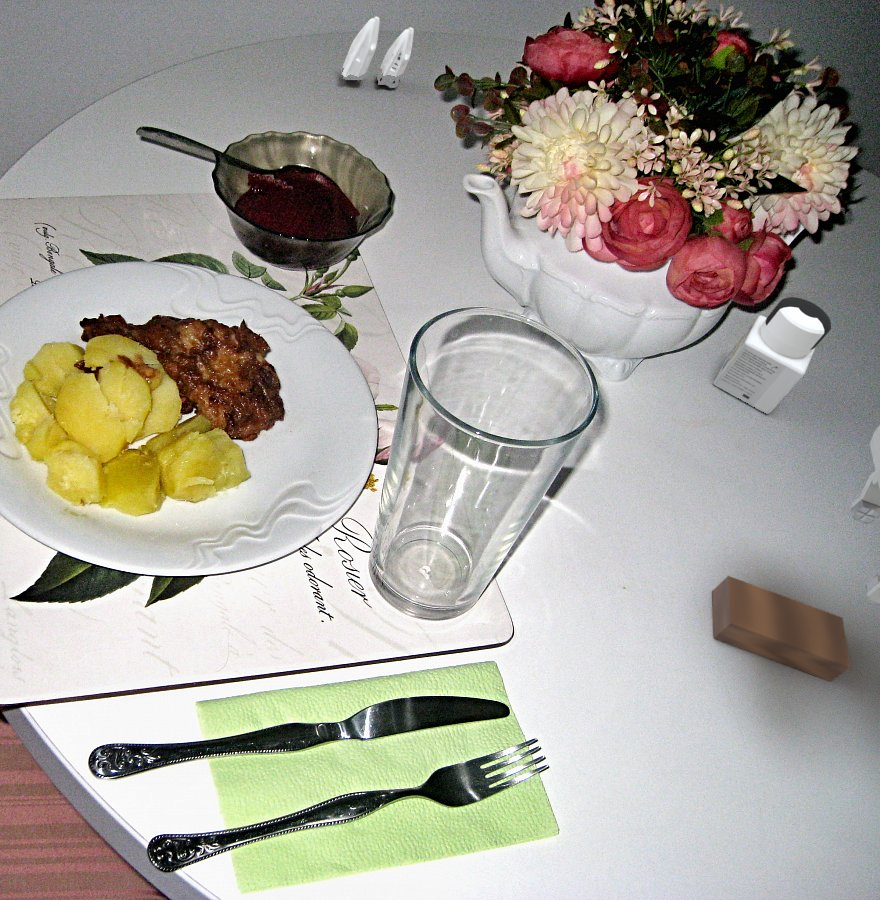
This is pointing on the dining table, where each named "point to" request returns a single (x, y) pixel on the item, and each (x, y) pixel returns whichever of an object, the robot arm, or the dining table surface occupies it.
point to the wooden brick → (780, 628)
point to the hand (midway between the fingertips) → (865, 554)
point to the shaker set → (366, 47)
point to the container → (774, 353)
